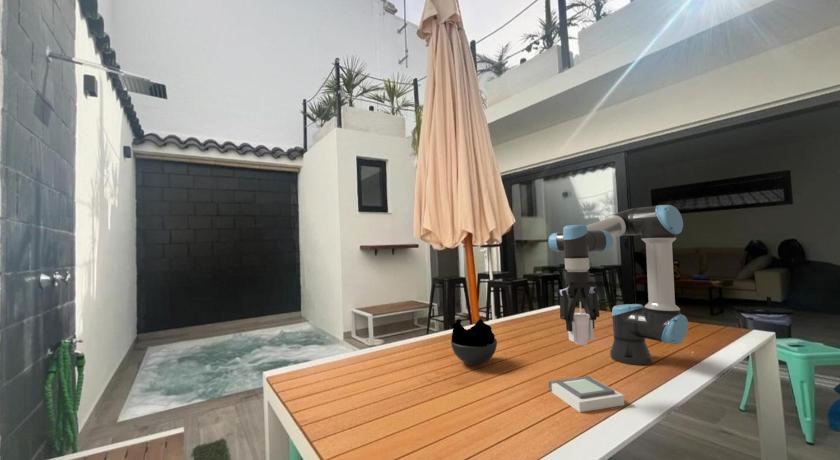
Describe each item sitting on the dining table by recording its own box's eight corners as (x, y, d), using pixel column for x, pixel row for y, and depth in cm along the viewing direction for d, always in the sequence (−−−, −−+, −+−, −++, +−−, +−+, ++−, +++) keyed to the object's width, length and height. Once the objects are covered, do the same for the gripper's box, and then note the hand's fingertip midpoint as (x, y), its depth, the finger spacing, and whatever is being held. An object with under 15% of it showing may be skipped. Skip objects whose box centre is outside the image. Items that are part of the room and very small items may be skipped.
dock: (589, 384, 122) (588, 373, 122) (624, 405, 106) (623, 392, 106) (549, 390, 118) (548, 378, 118) (579, 412, 103) (579, 398, 103)
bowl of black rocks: (507, 364, 145) (505, 320, 146) (473, 376, 134) (471, 328, 134) (475, 353, 161) (473, 313, 162) (442, 362, 150) (440, 320, 151)
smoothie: (594, 346, 109) (591, 303, 110) (573, 346, 111) (570, 303, 111) (588, 340, 116) (585, 299, 116) (568, 340, 117) (566, 300, 117)
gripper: (593, 268, 120) (597, 334, 119) (545, 271, 116) (549, 339, 115) (609, 269, 112) (614, 340, 111) (558, 273, 108) (563, 345, 107)
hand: (581, 339), depth 113 cm, fingers closed on smoothie, 6 cm apart
